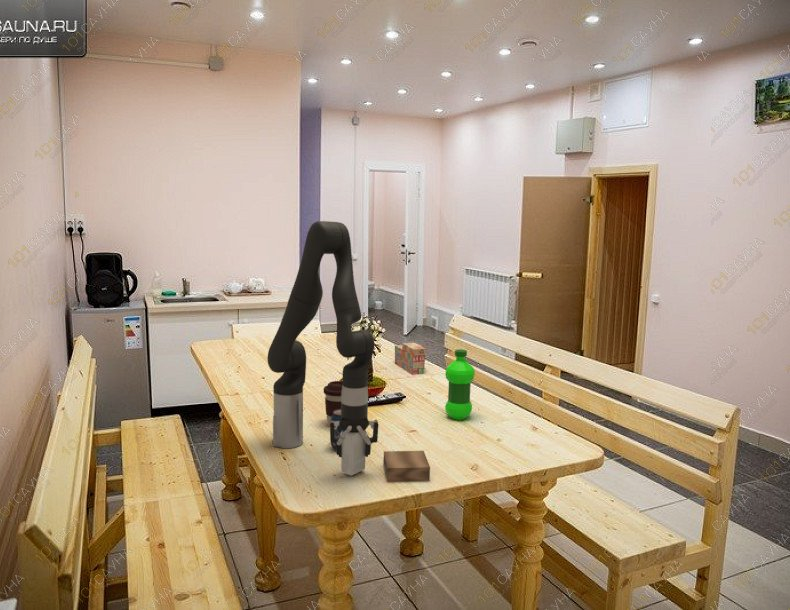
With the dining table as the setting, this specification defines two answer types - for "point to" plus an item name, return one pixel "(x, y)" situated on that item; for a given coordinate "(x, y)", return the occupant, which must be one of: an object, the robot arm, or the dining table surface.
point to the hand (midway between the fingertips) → (353, 455)
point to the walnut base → (406, 466)
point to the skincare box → (353, 453)
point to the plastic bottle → (459, 386)
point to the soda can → (337, 417)
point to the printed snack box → (410, 357)
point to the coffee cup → (332, 398)
